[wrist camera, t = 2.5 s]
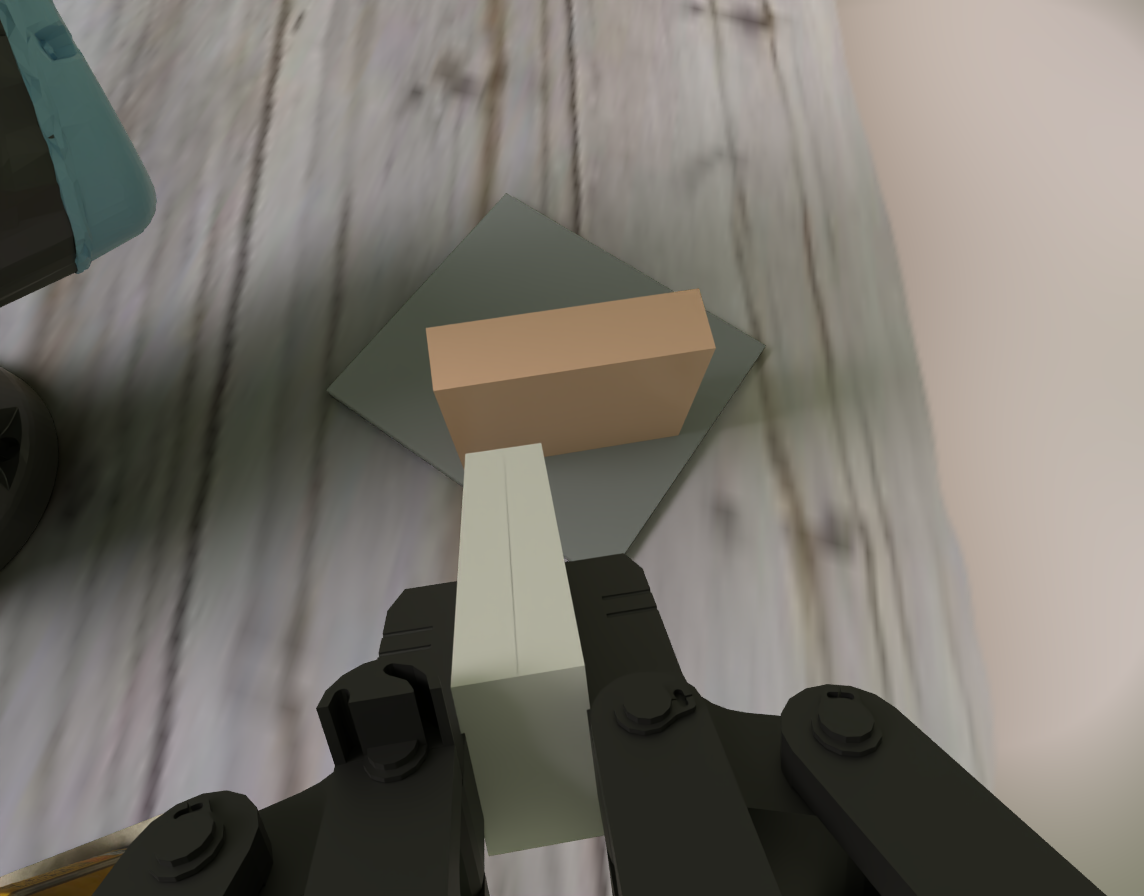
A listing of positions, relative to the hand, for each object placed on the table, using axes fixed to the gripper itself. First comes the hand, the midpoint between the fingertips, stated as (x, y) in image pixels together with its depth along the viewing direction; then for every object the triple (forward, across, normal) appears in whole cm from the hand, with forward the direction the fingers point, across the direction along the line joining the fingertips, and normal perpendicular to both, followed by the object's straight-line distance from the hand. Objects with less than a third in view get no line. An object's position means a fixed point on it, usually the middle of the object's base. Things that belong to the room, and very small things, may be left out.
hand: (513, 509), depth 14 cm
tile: (+24, +3, -8) cm, 25 cm away
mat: (+27, +2, -6) cm, 28 cm away
